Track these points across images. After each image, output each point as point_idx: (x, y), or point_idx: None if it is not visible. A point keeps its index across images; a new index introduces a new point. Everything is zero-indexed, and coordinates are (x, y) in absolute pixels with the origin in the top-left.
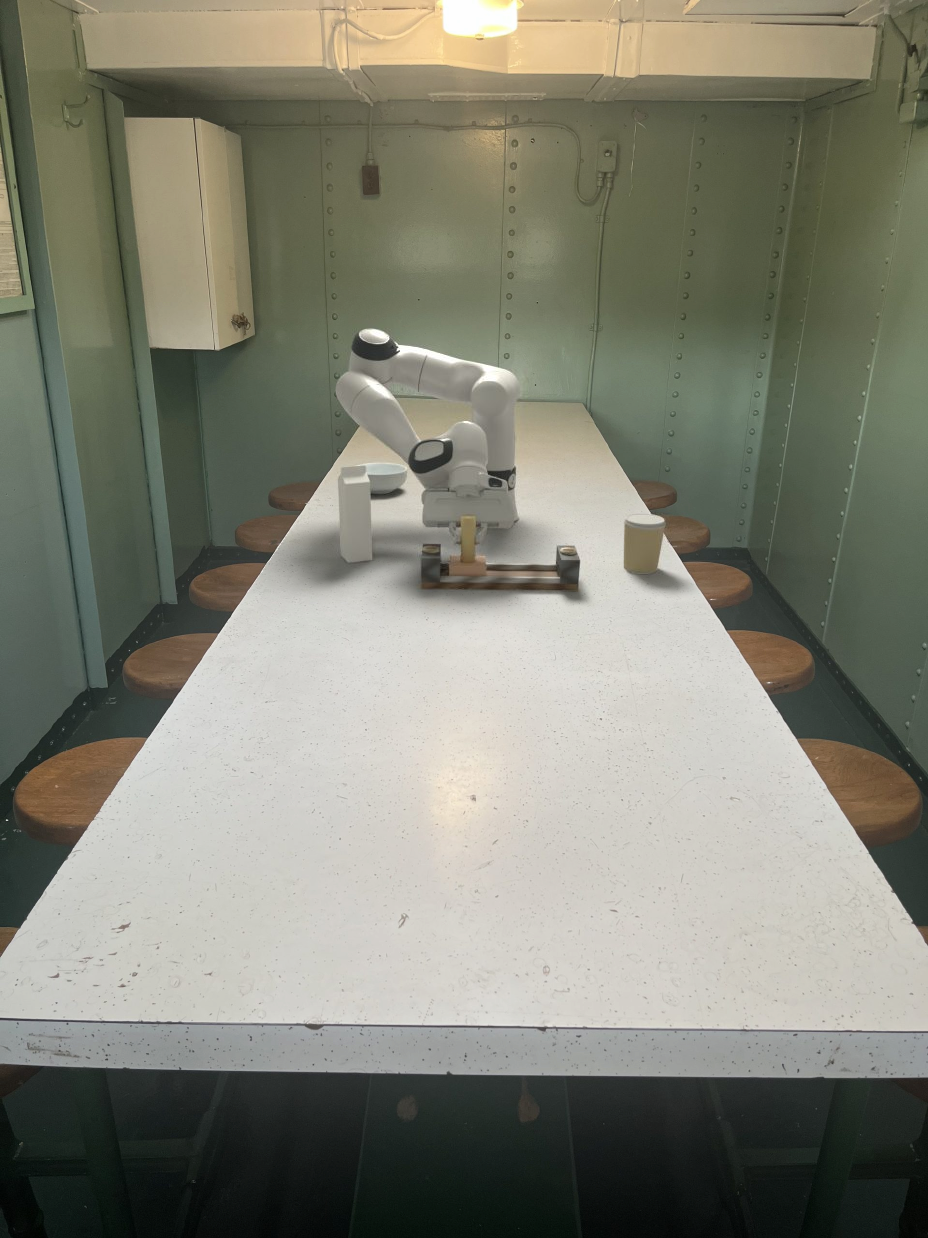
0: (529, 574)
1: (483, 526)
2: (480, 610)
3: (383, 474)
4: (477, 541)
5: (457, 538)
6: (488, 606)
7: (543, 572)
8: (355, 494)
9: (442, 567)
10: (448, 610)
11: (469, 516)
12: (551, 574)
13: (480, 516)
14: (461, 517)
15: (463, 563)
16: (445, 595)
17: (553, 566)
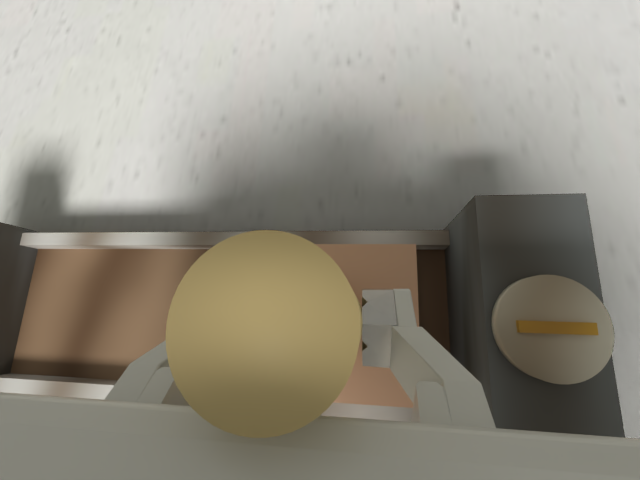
0: (109, 324)
1: (154, 371)
2: (306, 79)
3: None
4: None
5: (386, 298)
6: (281, 107)
7: (57, 348)
8: None
9: None
10: (398, 70)
11: (243, 348)
12: (38, 325)
13: (110, 451)
14: (352, 296)
15: (349, 280)
16: (413, 181)
17: (3, 375)
